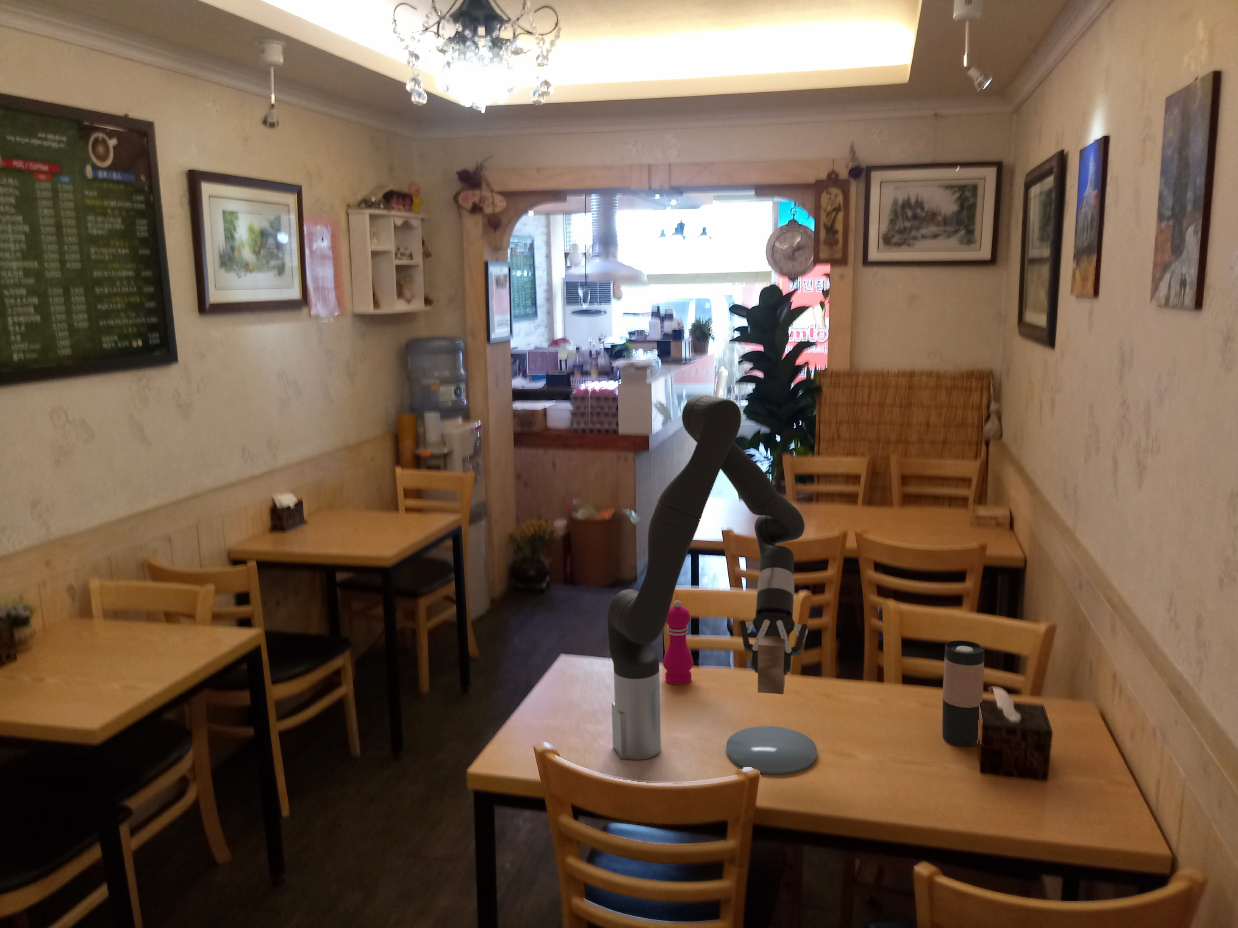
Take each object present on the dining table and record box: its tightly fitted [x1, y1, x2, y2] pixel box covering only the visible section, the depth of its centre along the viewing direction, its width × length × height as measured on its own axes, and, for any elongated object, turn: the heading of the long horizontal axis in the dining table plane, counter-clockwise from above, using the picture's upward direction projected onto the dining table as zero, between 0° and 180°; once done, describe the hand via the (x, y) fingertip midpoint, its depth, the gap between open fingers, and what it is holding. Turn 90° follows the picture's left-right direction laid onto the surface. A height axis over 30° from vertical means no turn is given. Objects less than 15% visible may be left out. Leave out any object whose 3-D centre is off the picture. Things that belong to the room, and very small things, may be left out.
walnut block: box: [757, 636, 786, 695], centre depth 185 cm, size 5×5×10 cm
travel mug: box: [941, 639, 986, 748], centre depth 190 cm, size 8×8×20 cm
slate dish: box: [725, 725, 818, 775], centre depth 188 cm, size 18×18×1 cm
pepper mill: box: [662, 600, 694, 685], centre depth 223 cm, size 7×7×20 cm
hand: (770, 671), depth 183 cm, fingers closed on walnut block, 5 cm apart
